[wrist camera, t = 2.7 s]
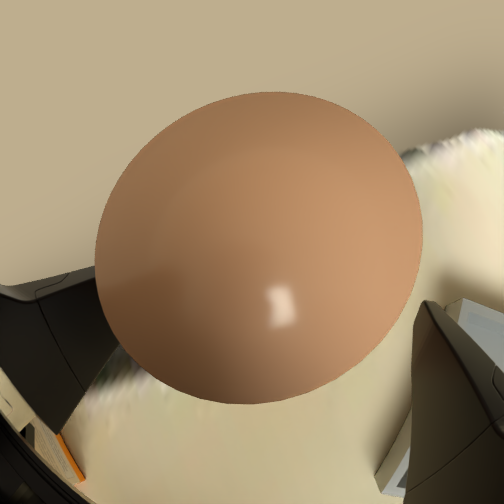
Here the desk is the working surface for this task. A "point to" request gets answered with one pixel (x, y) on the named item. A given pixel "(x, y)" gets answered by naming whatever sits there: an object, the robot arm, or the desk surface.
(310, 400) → the desk surface
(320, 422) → the desk surface
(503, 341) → the bin
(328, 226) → the tan cylinder
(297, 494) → the desk surface
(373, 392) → the desk surface
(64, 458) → the supplement box
